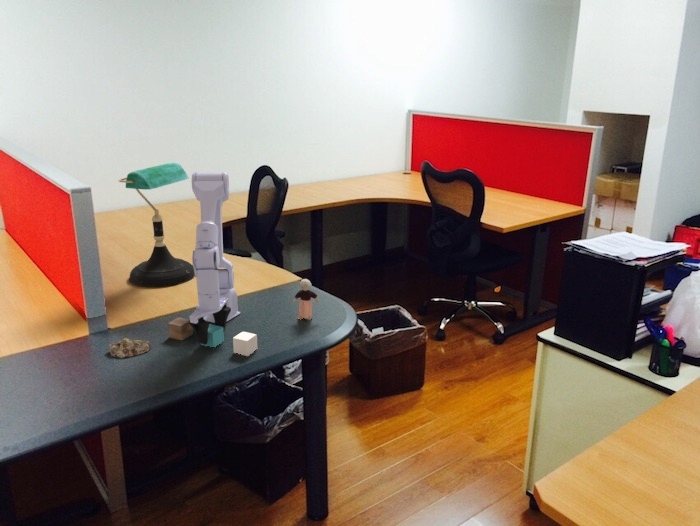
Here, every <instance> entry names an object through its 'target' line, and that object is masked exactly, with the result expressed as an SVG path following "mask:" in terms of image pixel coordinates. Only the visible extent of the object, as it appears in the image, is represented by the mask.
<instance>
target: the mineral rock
mask: <svg viewBox="0 0 700 526" xmlns="http://www.w3.org/2000/svg"><path fill="white" fill-rule="evenodd" d="M108 349H109V350H108V351H109V353H110V356H111V357H114V358H118V359H123V358H130V357H135V356H139V355H143V354H145V352H146V353H147V352H149V350H150V351H151V349H152V346H151V343H150V342H149V341H148V340H140V339H139V340H137V339H136V340H133V339H132V340H131V339H129V338H128V337H126V338H123V339H122V340H119V341H118V342H116V341H115V342H113V343H110V344H109V348H108Z"/></svg>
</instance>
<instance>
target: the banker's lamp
mask: <svg viewBox="0 0 700 526" xmlns="http://www.w3.org/2000/svg"><path fill="white" fill-rule="evenodd" d="M188 179H189V176H188V174H187V172H186V171H185V169H184V168H183V166H182V165H181V164H179V163H176V162H168V163H164V164H159V165H154V166H151V167H146V168H143V169H137V170H134V171H131V172H129V173H128V174H127V176H126V177H123V178H120V179H118V182H119V183H125V188H126V189H133V190H135V191H136V192H137V193H138V195H140V196H141V198H142V199H143V200H144V201H145V202H146V203H147V204H148V205H149V206H150V208H151V209H153V211H154V212H153V213H154V215H153V216H152V218H151V222H152V230H153V238H154V240H155V242H154V246H153V250H152V252H151V255H150V256H149V258H148V260H145V261H142V262H140V263H139V264H137V265H136V266H134V267H133V268H132V269H131V271H130V273H129V281H130V283H132V284H134V285H136V286H138V287H144V288H145V287H146V288H160V287H161V288H163V287H171V286H176V285H180V284H183V283H186V282H188V281H190V280H192V279H193V278H194V277H195V272H194V268H193V263H190V262H188V261H186V260H184V259H182V258H180V257H179V258H178V257H175V256H173V255H172V253H171V252H170V251H169V249H168V247H167V246H166V242H165V241H164V239H165V235H164V234H165V233H164V224H163V221H164V219H163V216H162V215H160V212H159V211H160V210H159V209H157V208H156V207H155V206H154V205H152V203H151V202H150V201H149V200H148V198H147V197H146V196H145V195H144V194H143V193H142V192H141V191H140V190H146V191H147V190H154V189H159V188H162V187H164V186H168V185H171V184H175V183H178V182H182V181H185V180H188Z"/></svg>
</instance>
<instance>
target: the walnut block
mask: <svg viewBox="0 0 700 526" xmlns="http://www.w3.org/2000/svg"><path fill="white" fill-rule="evenodd" d="M189 319H190V318H184V317H176V318H174V319H173V320H171V321H169V322H167V327H168V337H169V338H170V339H174V340H178V341H183V340H185V339H187V338H189V337H190V336H193V328H192V326H191V325H190V324H189Z"/></svg>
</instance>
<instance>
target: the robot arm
mask: <svg viewBox="0 0 700 526" xmlns="http://www.w3.org/2000/svg"><path fill="white" fill-rule="evenodd" d="M191 188H192V192H193V195H194V196H195V198H196V200H197V201H198V202H199V203H200V207H199V208H200V221H201V222H199V223H198V224H197V225H196V226H195V227H196V229H195V246H194V247H195V249H194V250H192V256H191V257H192V258H191V261H192V263H191V264H192V265H193V268H194V272H195V276H194V277H196V278H195V280H196V290H197V302H198V303H197V304H196V305H195V310H194V311H193V313H191V314H190V315H189V318H188V319H189V324H190V325H191V326H192V330H194V333H195V335H196V338H197V339H198V342H199V344H200V345H201V344H207V342H208V327H209V324H211V323H214V325H216V326H221V327H223V332H224V333H225V330H226V325H227V322H229V321H231V320H232V319H234V318H235V317H237V316H239V315H240V314H241V311H239V307H238V294H237V290H236V289H235V288H234V287H235V271H234V265H233V263H232V262H231V261H230V260H228V259H227V258H225V257H224V243H223V242H224V241H223V218H222V217H223V216H222V215H223V212H222V210H223V209H222V207H223V203H224V202H226V201H228V200H229V197H230V182H229V174H228V172H227V171H221V172H220V171H214V172H209V171H207V172H197V171H194V172H193V173H192V174H191Z"/></svg>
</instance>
